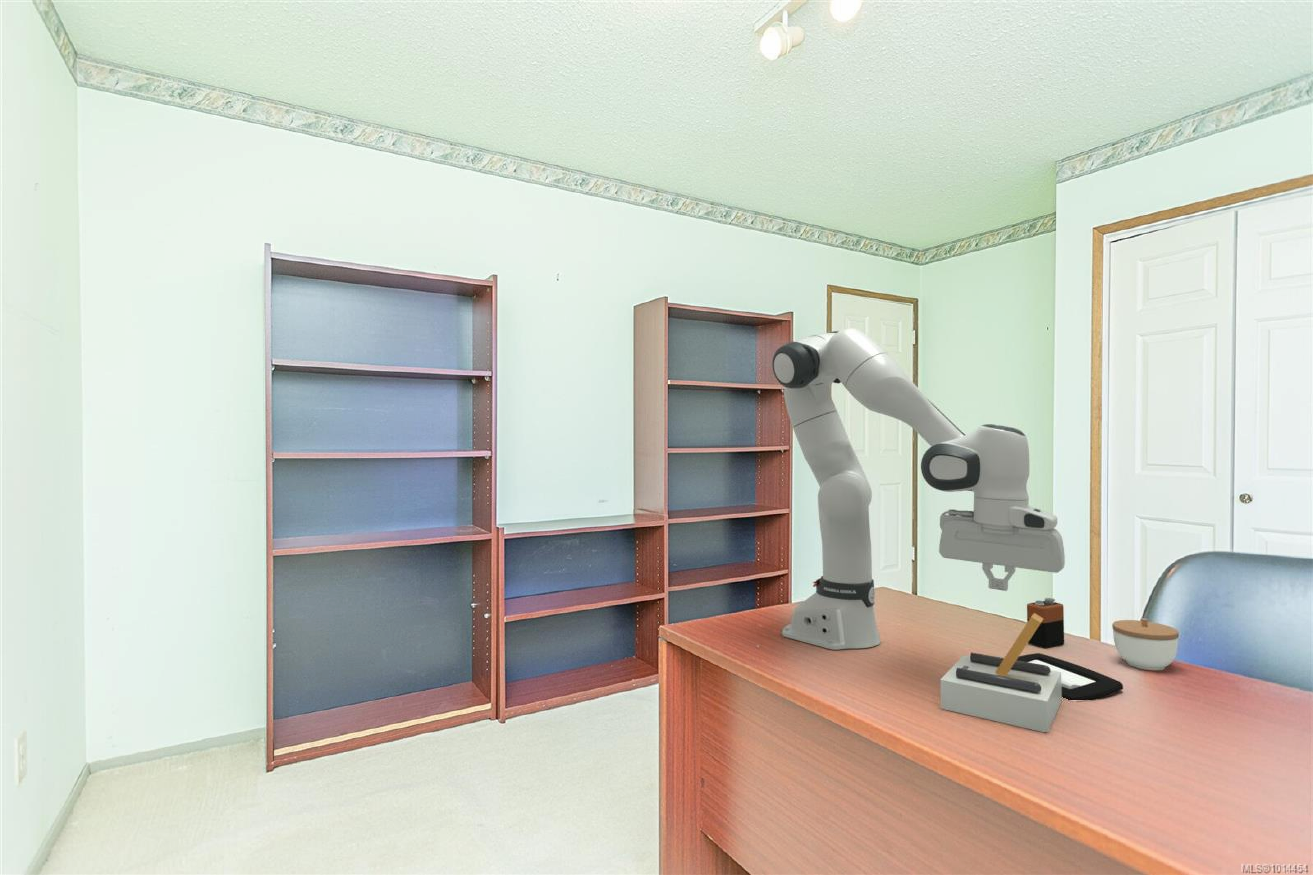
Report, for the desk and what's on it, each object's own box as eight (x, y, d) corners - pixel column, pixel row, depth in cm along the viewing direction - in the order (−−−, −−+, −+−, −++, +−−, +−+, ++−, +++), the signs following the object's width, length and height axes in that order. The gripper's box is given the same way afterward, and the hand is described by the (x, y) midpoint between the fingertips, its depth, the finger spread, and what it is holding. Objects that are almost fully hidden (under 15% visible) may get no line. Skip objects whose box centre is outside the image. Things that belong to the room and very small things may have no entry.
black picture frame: (984, 660, 132) (1037, 645, 136) (985, 674, 132) (1038, 659, 136) (1072, 696, 113) (1131, 678, 117) (1074, 712, 113) (1132, 694, 117)
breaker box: (941, 708, 112) (940, 670, 112) (964, 680, 125) (963, 646, 125) (1048, 733, 102) (1047, 691, 102) (1061, 700, 115) (1060, 663, 115)
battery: (1065, 644, 145) (1064, 600, 145) (1044, 649, 142) (1043, 603, 142) (1047, 639, 149) (1046, 596, 149) (1026, 643, 146) (1025, 599, 146)
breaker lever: (995, 672, 113) (1031, 616, 109) (998, 667, 115) (1034, 612, 112) (1004, 678, 112) (1040, 622, 108) (1007, 673, 114) (1043, 618, 111)
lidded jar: (1138, 654, 138) (1137, 610, 138) (1193, 670, 128) (1191, 623, 128) (1100, 660, 135) (1099, 615, 135) (1153, 677, 125) (1152, 628, 125)
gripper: (935, 509, 122) (933, 582, 122) (1062, 521, 109) (1060, 602, 110) (944, 506, 127) (942, 577, 127) (1067, 517, 114) (1065, 595, 115)
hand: (998, 589), depth 118 cm, fingers closed
